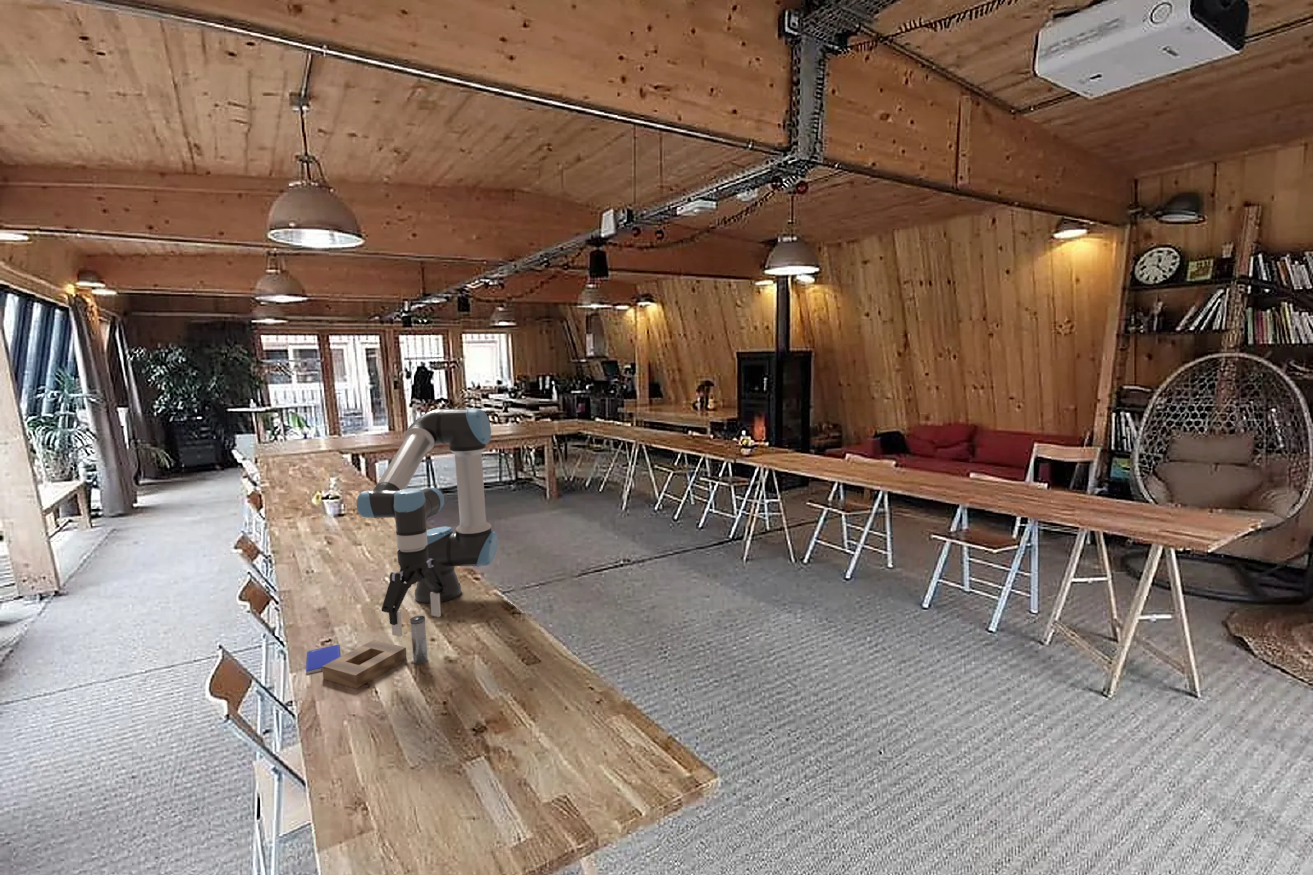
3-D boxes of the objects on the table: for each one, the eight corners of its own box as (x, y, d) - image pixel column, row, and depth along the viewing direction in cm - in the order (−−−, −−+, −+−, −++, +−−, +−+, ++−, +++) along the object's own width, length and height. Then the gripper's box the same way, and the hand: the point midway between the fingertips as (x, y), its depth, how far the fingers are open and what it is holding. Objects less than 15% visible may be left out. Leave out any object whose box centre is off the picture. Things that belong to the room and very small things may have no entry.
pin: (420, 656, 168) (417, 614, 167) (430, 658, 167) (427, 616, 165) (410, 662, 165) (407, 620, 163) (420, 665, 164) (417, 622, 162)
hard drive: (306, 651, 171) (305, 670, 160) (339, 644, 174) (340, 662, 164) (307, 656, 171) (306, 676, 160) (340, 649, 175) (341, 668, 164)
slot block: (374, 651, 172) (373, 639, 171) (406, 659, 167) (405, 647, 166) (323, 679, 157) (322, 666, 157) (356, 688, 152) (355, 675, 152)
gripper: (436, 534, 175) (440, 606, 177) (362, 560, 152) (368, 641, 154) (456, 537, 172) (460, 610, 174) (384, 563, 149) (390, 646, 151)
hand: (417, 625), depth 164 cm, fingers open, 13 cm apart
